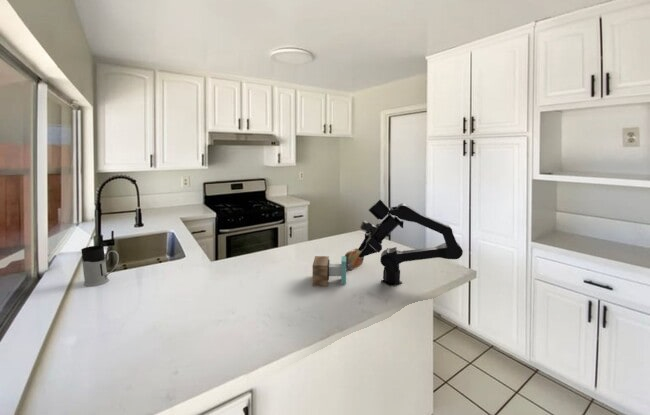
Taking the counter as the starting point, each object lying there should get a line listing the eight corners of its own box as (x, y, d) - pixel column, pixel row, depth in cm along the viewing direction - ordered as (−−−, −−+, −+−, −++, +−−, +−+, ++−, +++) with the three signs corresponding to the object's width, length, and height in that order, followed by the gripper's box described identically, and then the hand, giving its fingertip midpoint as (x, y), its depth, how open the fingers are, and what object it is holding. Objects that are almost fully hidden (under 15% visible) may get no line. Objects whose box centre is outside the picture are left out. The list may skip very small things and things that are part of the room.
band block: (329, 275, 144) (329, 256, 142) (328, 286, 132) (328, 265, 130) (315, 275, 144) (315, 256, 143) (312, 286, 132) (312, 265, 131)
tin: (347, 272, 148) (348, 254, 147) (342, 270, 150) (342, 253, 149) (364, 263, 160) (364, 247, 159) (358, 262, 162) (359, 246, 161)
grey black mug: (92, 278, 139) (88, 245, 137) (126, 278, 140) (123, 244, 138) (78, 287, 131) (74, 251, 128) (115, 286, 132) (111, 250, 129)
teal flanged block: (345, 277, 141) (346, 256, 139) (345, 283, 134) (346, 261, 132) (326, 276, 141) (326, 255, 140) (325, 283, 134) (325, 261, 133)
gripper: (370, 210, 142) (345, 234, 144) (373, 218, 123) (345, 246, 126) (388, 227, 142) (363, 251, 145) (394, 238, 124) (365, 265, 126)
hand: (359, 253), depth 135 cm, fingers open, 9 cm apart
